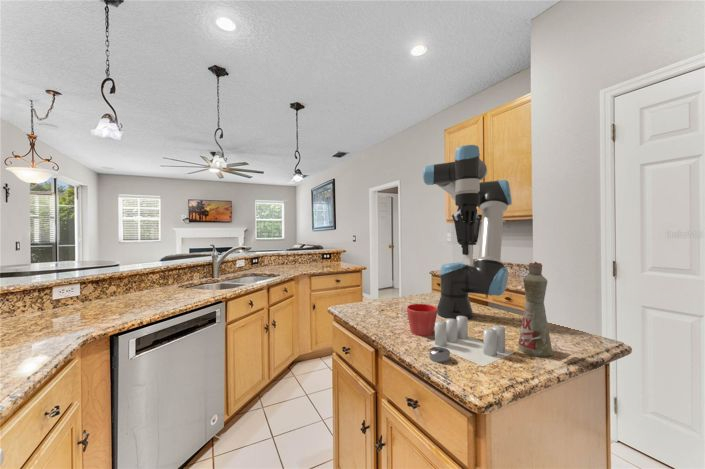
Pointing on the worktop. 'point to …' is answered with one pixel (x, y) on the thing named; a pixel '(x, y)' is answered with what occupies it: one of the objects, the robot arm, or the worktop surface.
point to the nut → (439, 354)
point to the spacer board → (470, 341)
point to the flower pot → (422, 319)
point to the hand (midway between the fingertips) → (467, 264)
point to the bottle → (535, 315)
